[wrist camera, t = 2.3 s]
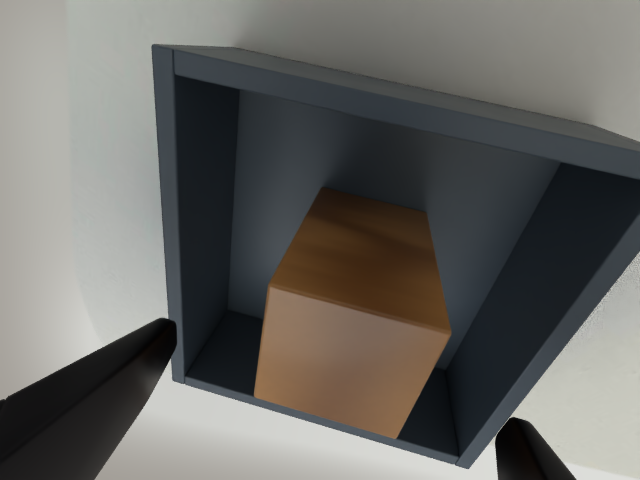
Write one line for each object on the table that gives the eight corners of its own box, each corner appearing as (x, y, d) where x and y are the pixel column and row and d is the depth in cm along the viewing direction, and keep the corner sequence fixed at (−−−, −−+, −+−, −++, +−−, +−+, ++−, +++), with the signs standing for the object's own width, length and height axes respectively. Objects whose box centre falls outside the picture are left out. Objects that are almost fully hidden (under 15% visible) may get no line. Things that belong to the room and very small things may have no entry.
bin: (220, 309, 19) (171, 381, 15) (231, 46, 13) (150, 43, 8) (451, 374, 18) (468, 470, 14) (594, 125, 12) (707, 166, 7)
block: (304, 272, 16) (252, 398, 10) (320, 185, 14) (267, 283, 8) (395, 296, 16) (396, 440, 10) (427, 212, 14) (453, 334, 8)
